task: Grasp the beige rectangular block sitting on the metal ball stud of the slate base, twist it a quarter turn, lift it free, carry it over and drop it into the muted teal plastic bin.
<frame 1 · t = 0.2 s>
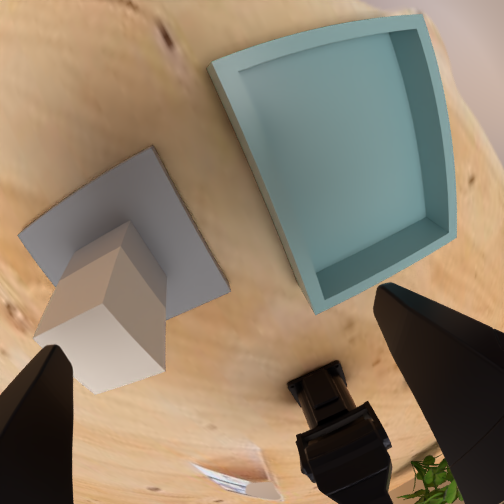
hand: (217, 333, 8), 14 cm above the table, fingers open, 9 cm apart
beige rectangular block: (120, 264, 20), point 1 cm above the table, touching stud base
indoor plant: (426, 452, 84), on the table
stud base: (122, 257, 21), on the table
bin: (347, 152, 21), on the table
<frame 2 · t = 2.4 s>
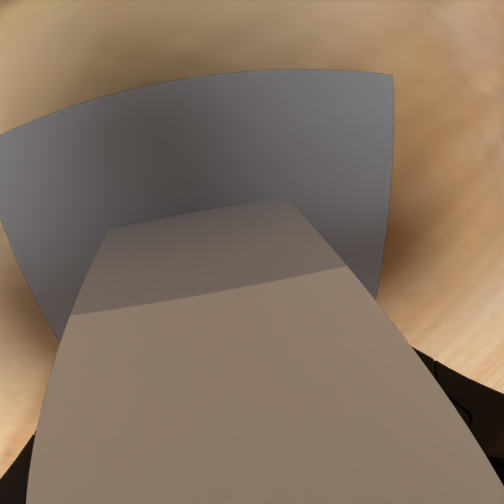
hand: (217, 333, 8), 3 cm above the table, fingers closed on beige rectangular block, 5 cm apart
beige rectangular block: (210, 288, 9), point 1 cm above the table, touching gripper, stud base
stud base: (207, 270, 10), on the table
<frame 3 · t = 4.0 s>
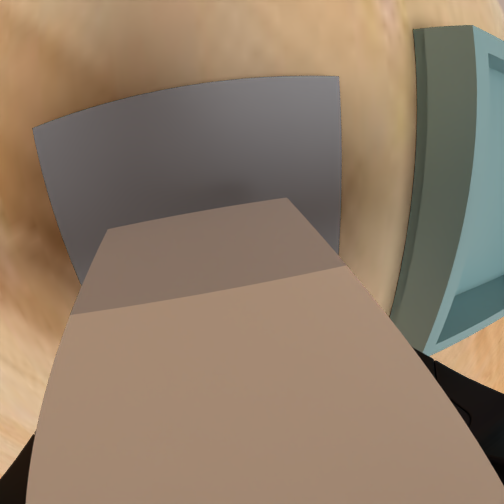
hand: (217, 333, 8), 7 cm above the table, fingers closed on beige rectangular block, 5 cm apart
beige rectangular block: (210, 287, 9), point 5 cm above the table, touching gripper
stud base: (202, 226, 13), on the table
bin: (484, 187, 16), on the table
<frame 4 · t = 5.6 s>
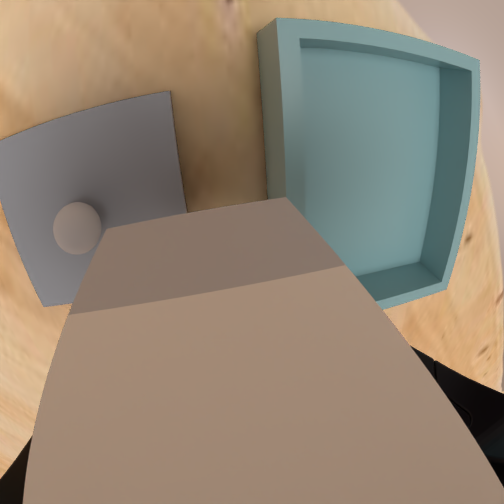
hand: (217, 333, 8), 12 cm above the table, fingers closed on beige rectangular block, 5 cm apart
beige rectangular block: (209, 287, 9), point 10 cm above the table, touching gripper
stud base: (90, 209, 17), on the table
bin: (366, 170, 19), on the table
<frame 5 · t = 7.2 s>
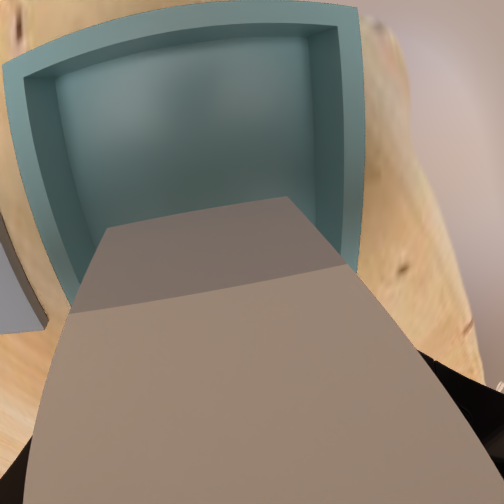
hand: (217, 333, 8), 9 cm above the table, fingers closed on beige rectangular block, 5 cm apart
beige rectangular block: (210, 287, 9), point 7 cm above the table, touching gripper
bin: (199, 201, 16), on the table
when the fingers open (4 cm above the table, at t = 8.8 s): beige rectangular block drops 2 cm, resting on bin.
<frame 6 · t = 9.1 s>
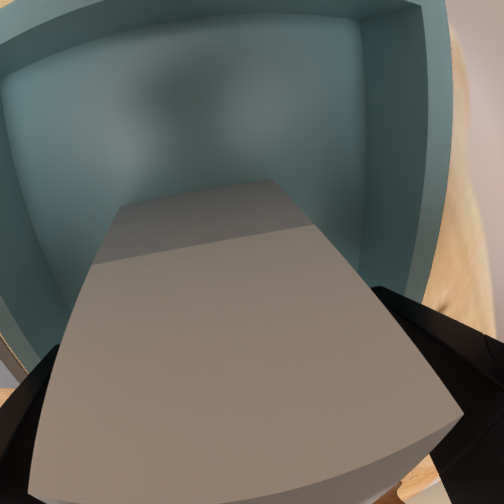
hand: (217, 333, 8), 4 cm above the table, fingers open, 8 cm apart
beige rectangular block: (207, 259, 11), point 1 cm above the table, touching bin
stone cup: (370, 491, 51), on the table
bin: (205, 248, 11), on the table
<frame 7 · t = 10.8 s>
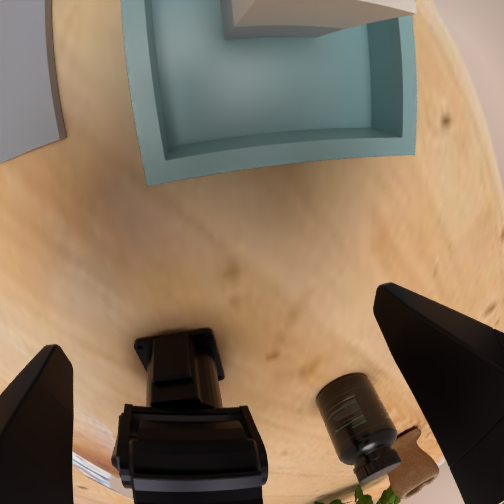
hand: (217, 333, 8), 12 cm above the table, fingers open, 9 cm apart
supplement bottle: (341, 388, 33), on the table
indoor plant: (334, 495, 78), on the table
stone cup: (388, 442, 53), on the table
bin: (263, 1, 12), on the table
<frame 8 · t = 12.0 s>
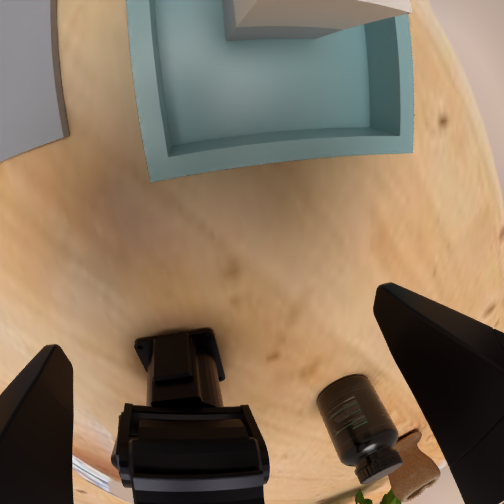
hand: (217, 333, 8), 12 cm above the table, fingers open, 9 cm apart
beige rectangular block: (267, 0, 12), point 1 cm above the table, touching bin
supplement bottle: (342, 390, 33), on the table
indoor plant: (334, 500, 76), on the table
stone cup: (389, 445, 52), on the table
bin: (263, 3, 13), on the table
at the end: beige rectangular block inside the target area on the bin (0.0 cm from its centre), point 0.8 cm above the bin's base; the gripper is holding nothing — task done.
